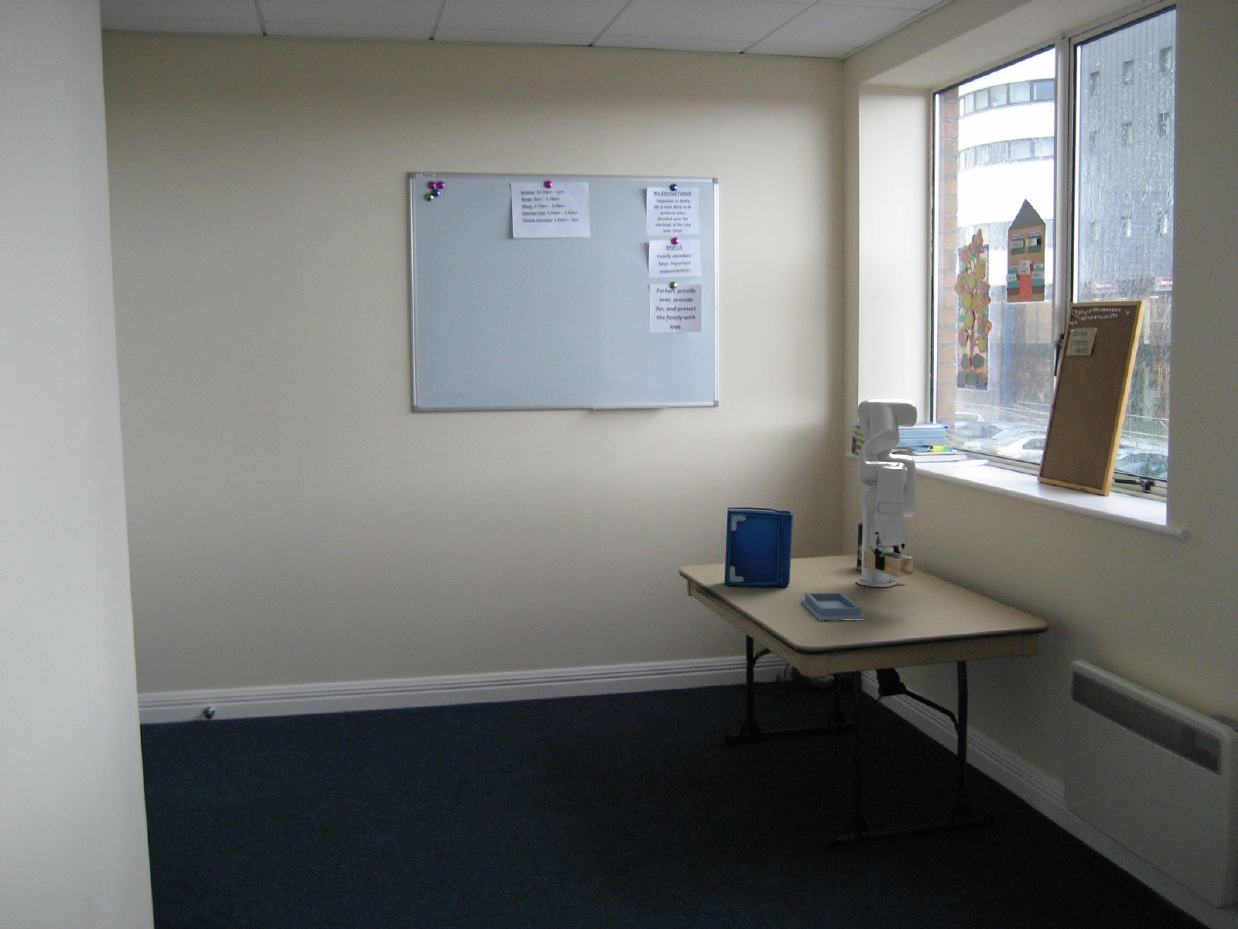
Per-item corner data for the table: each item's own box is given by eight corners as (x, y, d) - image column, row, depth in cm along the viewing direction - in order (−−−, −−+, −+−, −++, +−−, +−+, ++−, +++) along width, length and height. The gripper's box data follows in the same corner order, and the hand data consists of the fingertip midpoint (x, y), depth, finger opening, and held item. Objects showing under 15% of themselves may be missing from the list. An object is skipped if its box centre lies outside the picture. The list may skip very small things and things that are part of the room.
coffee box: (856, 570, 378) (857, 523, 376) (859, 566, 384) (860, 521, 382) (883, 572, 374) (884, 525, 373) (885, 568, 380) (887, 522, 379)
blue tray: (843, 601, 332) (843, 591, 332) (864, 620, 310) (865, 609, 310) (801, 602, 331) (801, 592, 331) (819, 621, 309) (819, 610, 309)
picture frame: (878, 564, 331) (878, 548, 330) (912, 574, 319) (913, 557, 318) (863, 567, 327) (863, 550, 327) (897, 577, 316) (898, 559, 315)
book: (791, 583, 357) (792, 507, 354) (792, 588, 350) (793, 511, 347) (724, 582, 359) (725, 506, 356) (724, 586, 352) (725, 510, 349)
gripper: (900, 503, 328) (898, 561, 331) (859, 509, 319) (857, 569, 321) (919, 506, 322) (917, 566, 325) (878, 512, 313) (876, 574, 315)
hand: (887, 567), depth 323 cm, fingers closed on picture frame, 6 cm apart
